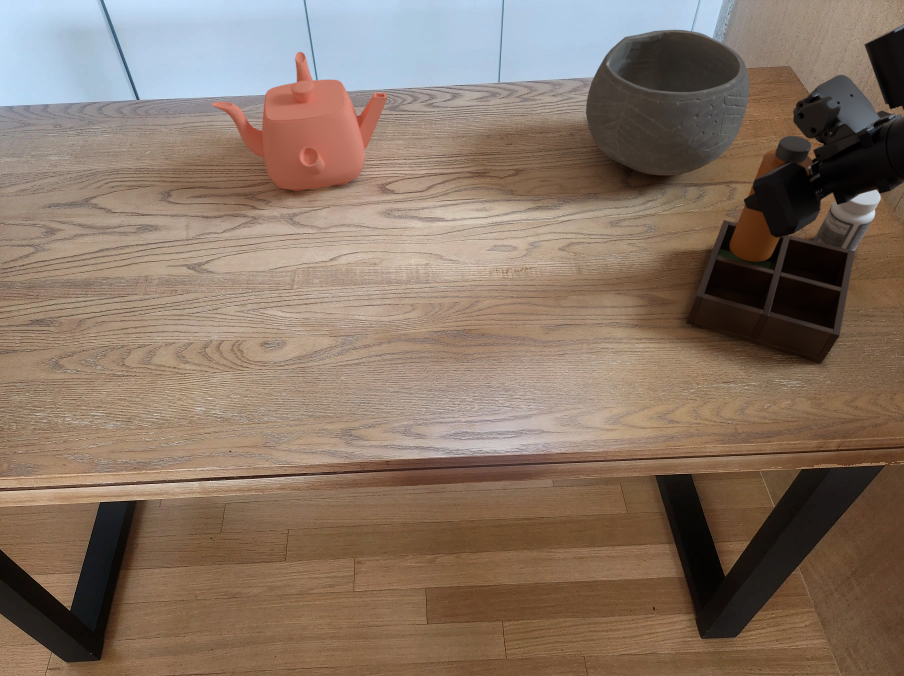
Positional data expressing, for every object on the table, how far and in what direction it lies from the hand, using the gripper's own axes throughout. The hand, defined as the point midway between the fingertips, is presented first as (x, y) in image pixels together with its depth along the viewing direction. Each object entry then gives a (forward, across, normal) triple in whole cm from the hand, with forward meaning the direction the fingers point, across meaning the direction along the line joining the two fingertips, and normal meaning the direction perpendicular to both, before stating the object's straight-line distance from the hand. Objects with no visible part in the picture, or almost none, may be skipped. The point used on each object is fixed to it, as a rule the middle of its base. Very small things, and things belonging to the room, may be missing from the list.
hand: (761, 194), depth 75 cm
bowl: (+24, -10, -8) cm, 28 cm away
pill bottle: (+4, -13, +12) cm, 18 cm away
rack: (+4, +1, +12) cm, 13 cm away
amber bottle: (+4, 0, +6) cm, 7 cm away
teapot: (+46, +31, -30) cm, 62 cm away
